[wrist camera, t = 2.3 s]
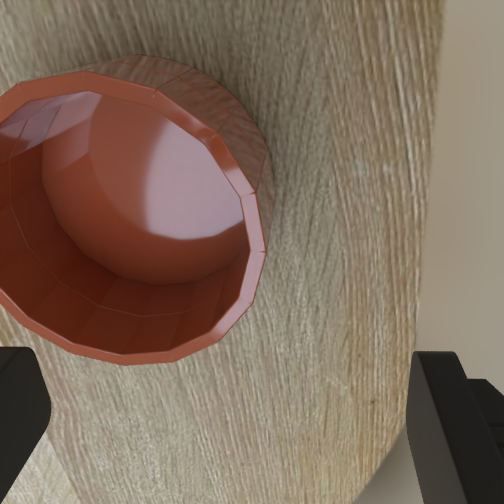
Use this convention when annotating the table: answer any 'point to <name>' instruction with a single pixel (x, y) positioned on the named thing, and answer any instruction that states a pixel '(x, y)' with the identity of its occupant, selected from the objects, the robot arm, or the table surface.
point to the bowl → (131, 209)
